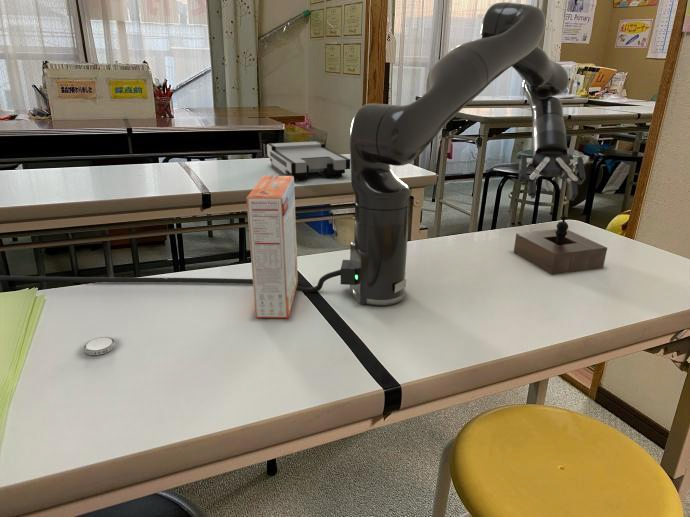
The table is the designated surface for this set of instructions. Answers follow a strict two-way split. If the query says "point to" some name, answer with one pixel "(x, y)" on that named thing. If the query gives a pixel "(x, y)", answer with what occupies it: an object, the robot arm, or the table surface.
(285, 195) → the cracker box
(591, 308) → the table surface
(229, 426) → the table surface
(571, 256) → the pad block
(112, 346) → the silver round flat disc
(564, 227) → the chess piece
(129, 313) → the table surface
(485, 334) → the table surface
